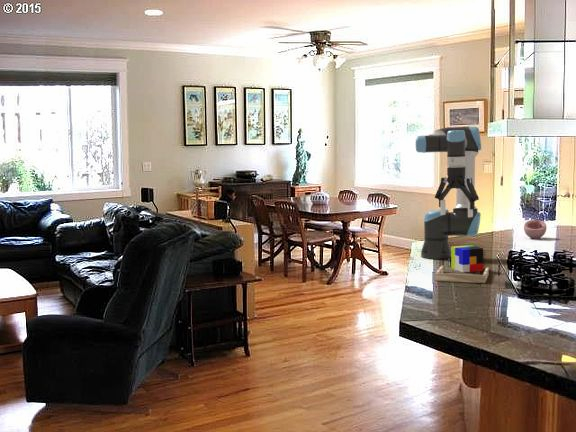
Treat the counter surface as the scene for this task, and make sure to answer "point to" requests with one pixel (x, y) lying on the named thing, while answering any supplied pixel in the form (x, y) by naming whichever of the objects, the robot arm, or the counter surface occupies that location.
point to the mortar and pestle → (535, 228)
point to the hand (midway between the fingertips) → (456, 216)
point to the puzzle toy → (467, 258)
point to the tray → (461, 276)
